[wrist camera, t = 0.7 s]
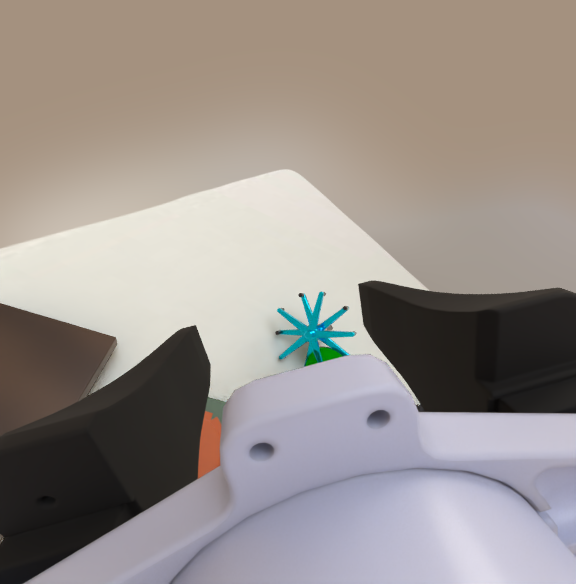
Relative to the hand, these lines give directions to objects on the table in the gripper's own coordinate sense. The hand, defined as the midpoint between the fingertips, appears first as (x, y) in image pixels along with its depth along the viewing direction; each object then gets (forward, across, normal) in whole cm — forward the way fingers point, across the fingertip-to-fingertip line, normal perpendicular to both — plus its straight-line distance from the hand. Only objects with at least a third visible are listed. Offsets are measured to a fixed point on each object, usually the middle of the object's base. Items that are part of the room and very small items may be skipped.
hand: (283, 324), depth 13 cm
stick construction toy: (+15, -3, +13) cm, 19 cm away
